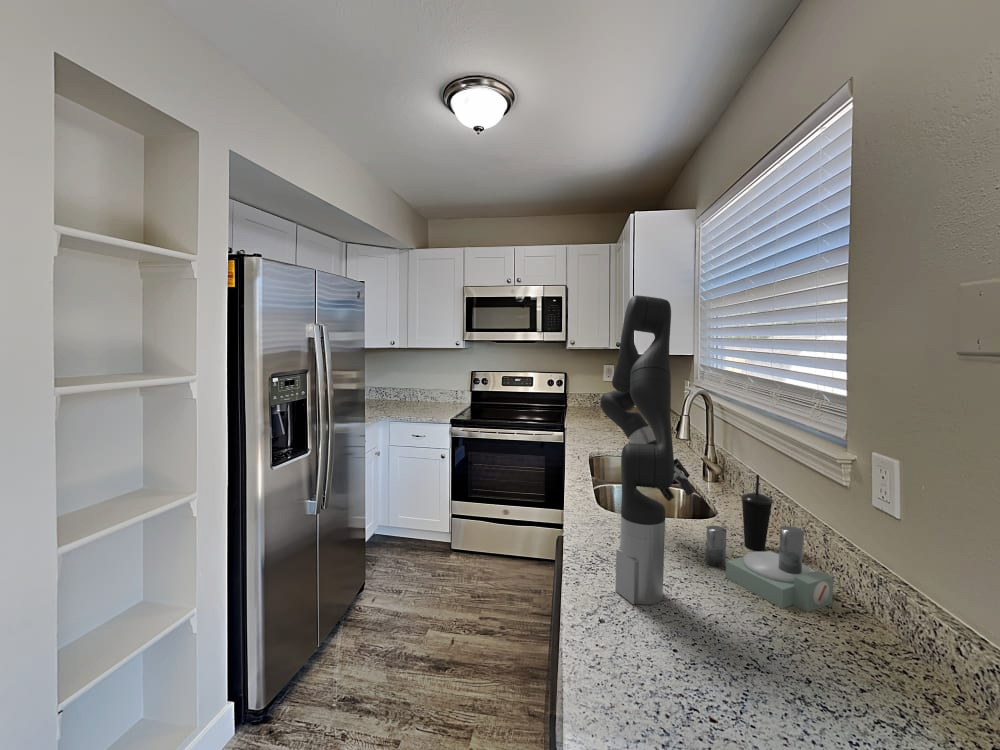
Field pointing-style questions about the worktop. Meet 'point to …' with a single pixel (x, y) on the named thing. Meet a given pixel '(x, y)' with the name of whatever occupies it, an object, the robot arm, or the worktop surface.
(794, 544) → the steel weight
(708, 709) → the worktop surface
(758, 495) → the drinking cup
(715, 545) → the steel weight
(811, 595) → the kitchen scale
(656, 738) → the worktop surface
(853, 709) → the worktop surface
